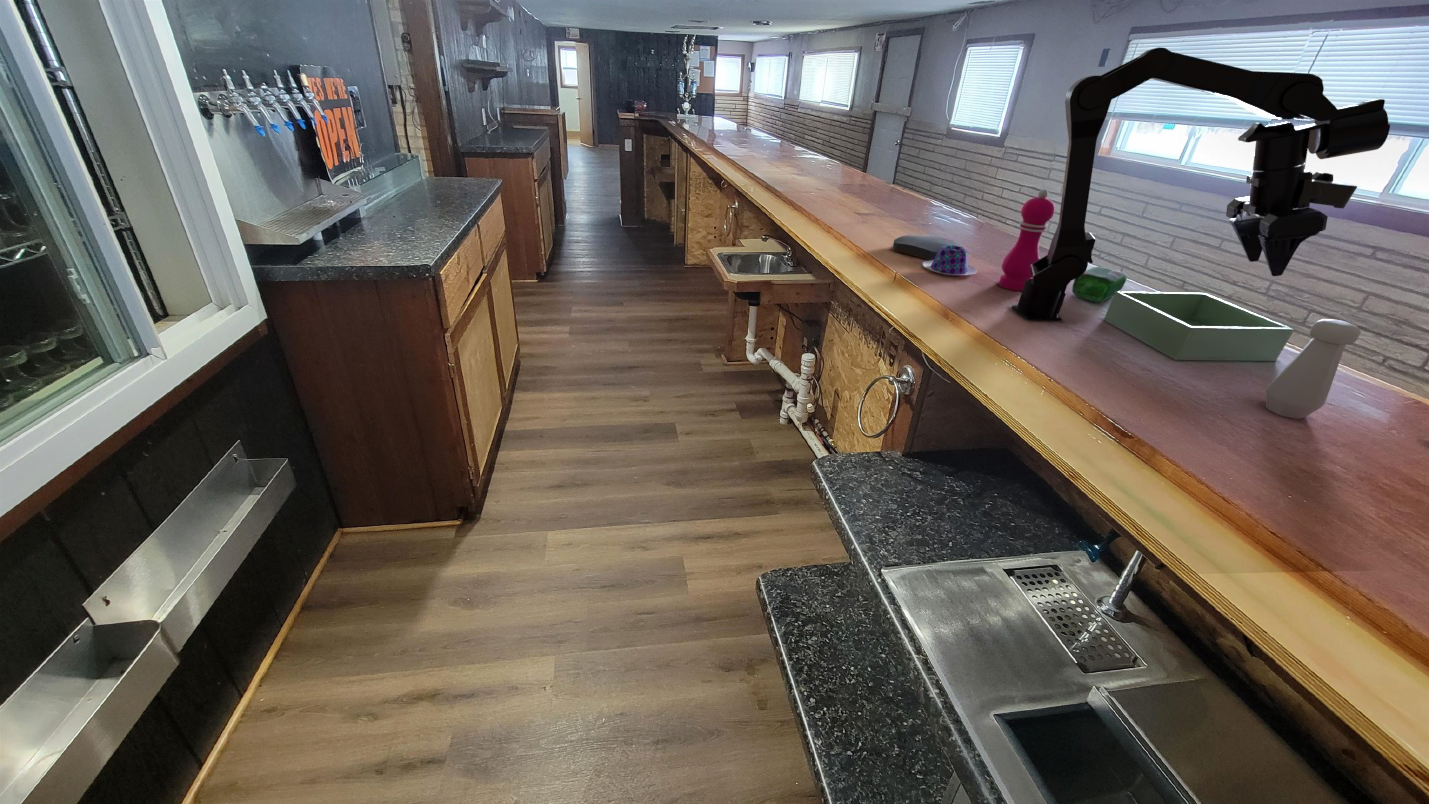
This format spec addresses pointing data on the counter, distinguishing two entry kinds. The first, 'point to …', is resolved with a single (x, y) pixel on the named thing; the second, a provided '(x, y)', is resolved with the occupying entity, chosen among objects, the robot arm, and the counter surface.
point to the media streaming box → (922, 245)
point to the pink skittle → (1027, 242)
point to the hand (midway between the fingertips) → (1264, 268)
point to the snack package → (1098, 284)
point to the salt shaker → (1311, 370)
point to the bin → (1197, 326)
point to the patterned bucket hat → (950, 262)
